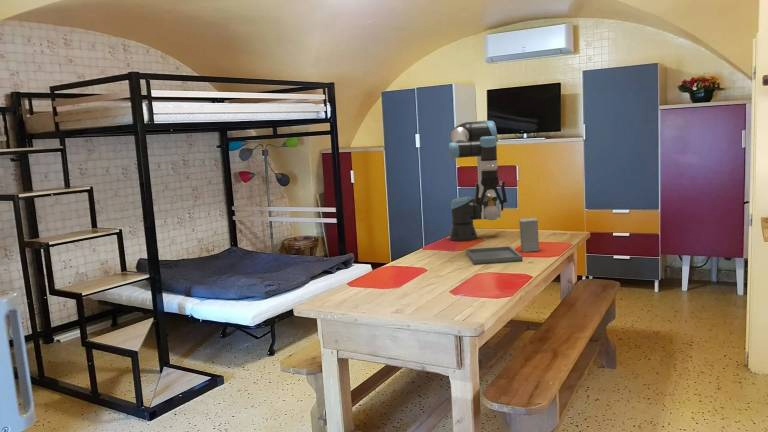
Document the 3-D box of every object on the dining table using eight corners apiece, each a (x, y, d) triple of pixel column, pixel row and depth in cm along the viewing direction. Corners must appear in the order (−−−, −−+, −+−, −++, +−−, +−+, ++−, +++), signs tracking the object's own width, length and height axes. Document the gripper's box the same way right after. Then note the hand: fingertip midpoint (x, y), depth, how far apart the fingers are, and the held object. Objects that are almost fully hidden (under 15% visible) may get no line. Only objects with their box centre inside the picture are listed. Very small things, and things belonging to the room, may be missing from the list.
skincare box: (537, 248, 304) (536, 217, 302) (539, 251, 297) (538, 219, 295) (520, 249, 305) (518, 218, 303) (521, 252, 298) (520, 220, 296)
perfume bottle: (495, 221, 283) (494, 195, 281) (476, 220, 288) (475, 195, 287) (502, 218, 288) (501, 193, 287) (484, 218, 294) (483, 193, 293)
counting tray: (466, 254, 303) (465, 249, 302) (510, 251, 303) (510, 246, 303) (474, 264, 279) (474, 259, 279) (522, 261, 279) (522, 256, 279)
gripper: (468, 171, 281) (471, 221, 284) (512, 168, 282) (514, 217, 285) (466, 170, 289) (468, 218, 292) (509, 167, 289) (511, 215, 292)
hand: (491, 218), depth 288 cm, fingers closed on perfume bottle, 7 cm apart
